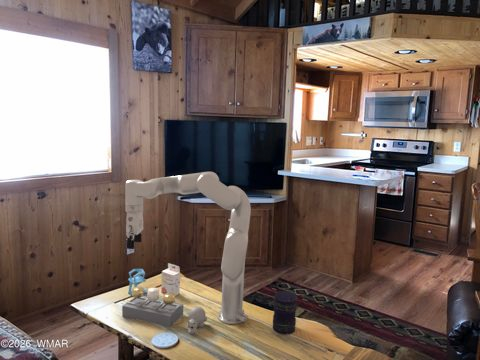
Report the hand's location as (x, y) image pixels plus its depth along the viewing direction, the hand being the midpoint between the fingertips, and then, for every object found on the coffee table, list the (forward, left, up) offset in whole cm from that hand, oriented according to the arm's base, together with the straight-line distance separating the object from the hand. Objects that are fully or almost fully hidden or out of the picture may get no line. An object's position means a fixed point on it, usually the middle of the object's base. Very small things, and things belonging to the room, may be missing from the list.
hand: (134, 245), depth 168 cm
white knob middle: (-9, -4, -23) cm, 25 cm away
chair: (+16, -11, -31) cm, 37 cm away
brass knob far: (-2, -1, -23) cm, 23 cm away
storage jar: (-56, -39, -31) cm, 75 cm away
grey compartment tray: (-9, -4, -31) cm, 33 cm away
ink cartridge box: (+4, -23, -32) cm, 39 cm away
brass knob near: (-17, -7, -23) cm, 29 cm away
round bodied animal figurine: (-30, -11, -32) cm, 45 cm away
